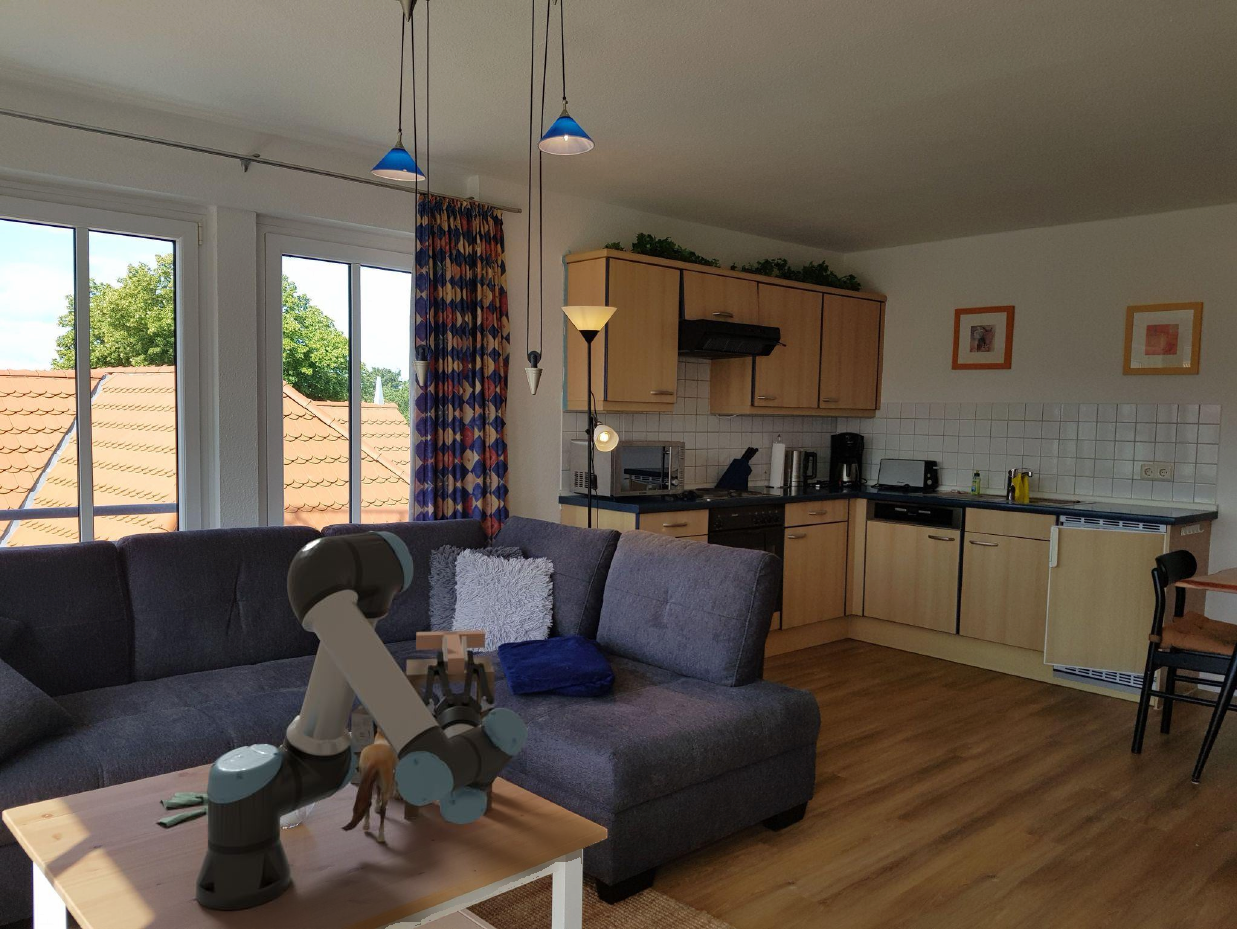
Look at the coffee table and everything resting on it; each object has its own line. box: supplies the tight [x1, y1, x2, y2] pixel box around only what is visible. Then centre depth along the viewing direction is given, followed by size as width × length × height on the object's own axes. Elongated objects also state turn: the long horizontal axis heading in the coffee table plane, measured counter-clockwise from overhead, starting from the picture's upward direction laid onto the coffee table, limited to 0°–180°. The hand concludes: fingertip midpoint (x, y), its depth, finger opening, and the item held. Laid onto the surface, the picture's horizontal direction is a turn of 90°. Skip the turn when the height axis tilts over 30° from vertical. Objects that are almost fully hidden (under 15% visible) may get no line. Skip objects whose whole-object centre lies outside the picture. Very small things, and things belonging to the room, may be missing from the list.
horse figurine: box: [340, 728, 401, 843], centre depth 181 cm, size 31×8×21 cm, turn 3°
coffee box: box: [349, 703, 378, 785], centre depth 204 cm, size 9×6×16 cm
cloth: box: [156, 792, 208, 828], centre depth 185 cm, size 20×22×2 cm
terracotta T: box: [415, 629, 486, 674], centre depth 176 cm, size 14×22×3 cm, turn 14°
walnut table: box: [403, 656, 495, 819], centre depth 190 cm, size 18×12×30 cm, turn 103°
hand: (454, 641), depth 173 cm, fingers closed on terracotta T, 3 cm apart
